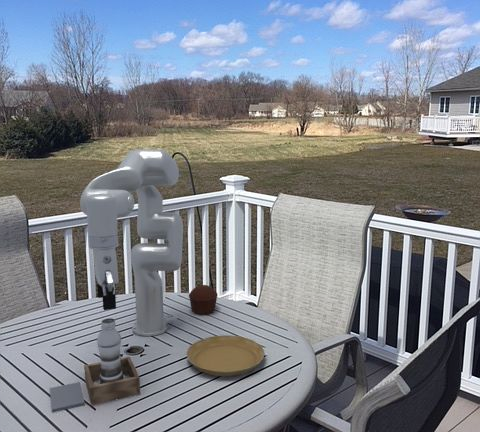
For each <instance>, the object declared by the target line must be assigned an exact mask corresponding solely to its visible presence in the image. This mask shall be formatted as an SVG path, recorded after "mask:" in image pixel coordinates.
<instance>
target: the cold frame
mask: <svg viewBox="0 0 480 432" xmlns="http://www.w3.org/2000/svg"><path fill="white" fill-rule="evenodd" d="M120 362H121V368H122V372H123V376H126V375H127V376H128V377H127V378H124V379H122V380H117V381H113V382H108V383H103V384H100V383H98V384H93V382H97V381H100V373H101V361H100V362H99V361H98V362H95V363H90V364H85V365H83V369H84V379H85V380H84V381H85V382H84V383H85V385H86V390H87V395H88V399H89V402H90V403H89V404H90V406H96V405H100V404H104V403H108V401H109V402H114V401H117V400H116V399H118V400H122V399H126V397H127V398H130V396H131V397H135V395H136V396H139V395H141V382H140V381H141V379H140V376H139V373H138V371H137V369H136V367H135V365H134V362H133V360H132V358H131V356H125V357H120ZM113 400H114V401H113Z"/></svg>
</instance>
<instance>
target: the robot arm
mask: <svg viewBox="0 0 480 432" xmlns="http://www.w3.org/2000/svg"><path fill="white" fill-rule="evenodd" d="M179 171H180V170H179V167H178V164H177V162H176V160H174V158H173V157H172V156H171V155H170V153H168V152H167V151H166V150H163V149H146V148H145V149H143V148H141V149H133V150H131V151H129V152H128V153H127V154H126V155H125V156H124V158H123V160H122V161H121V163H120V164H119V165H118V166H117V168H116V169H112V170H111V171H109V172H106V173H104V174H101V175H98V176H97V177H96V178H93V179H92V180H91V181H90V182H89V183H88V184H87V186H86V187H85V188H84V190H83V191H82V194H81V196H80V199H79V200H80V201H79V207H80V210H81V212H82V213H83V214H84V215H85V216H86V219H87V223H86V224H87V239H88V248H89V249H91V250H93V264H94V274H95V278H96V282H97V283H96V286H97V297H98V299H102V309H103V310H104V311H109V310H116V308H117V302H116V301H117V300H116V289H115V285H116V286H117V285H119V283H120V281H119V270H118V259H117V257H118V256H117V251H116V248H117V247H118V246H119V233H118V231H119V229H118V227H119V226H118V219H119V218H120V219H121V218H125V217H128V216H129V215H131V213H132V212H133V211H134V208H135V198H134V195H133V194H132V192H136V196H137V200H138V201H137V220H136V221H137V224H136V232H137V235H138V236H139V238H142V239H146V240H167V241H168V243H163V242H161V243H160V242H141V243H137V244H135V245H134V246H133V247H132V248H131V250H130V262H131V266H132V269H133V270H132V272H133V276H134V294H135V318H136V320H135V321H136V322H135V323H134V324H133V325H132V328H131V329H132V332H133V333H134V334H135V335H137V336H140V337H154V336H158V335H161V334H163V333H165V332H166V331H168V329H169V323H172V322H177V321H178V317H177V316H176V315H174V316H173V315H172V314H167V315H165V314H164V296H163V295H164V293H163V292H164V291H163V287H164V286H163V279H162V277H161V276H160V274H159V272H176V271H178V270H179V269H181V266H182V262H183V261H182V260H183V259H182V258H183V241H184V240H183V239H184V238H183V237H184V236H183V235H184V222H183V218H182V216H181V215H180V214H178V213H177V212H169V211H167V212H166V211H165V212H164V210H163V202H164V199H163V196H162V194H161V192H160V191H159V189H157V187H155V186H163V187H164V186H165V187H166V186H167V187H168V186H169V187H170V186H174V185H175V184H177V183H178V180H179V176H180V172H179Z"/></svg>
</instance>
